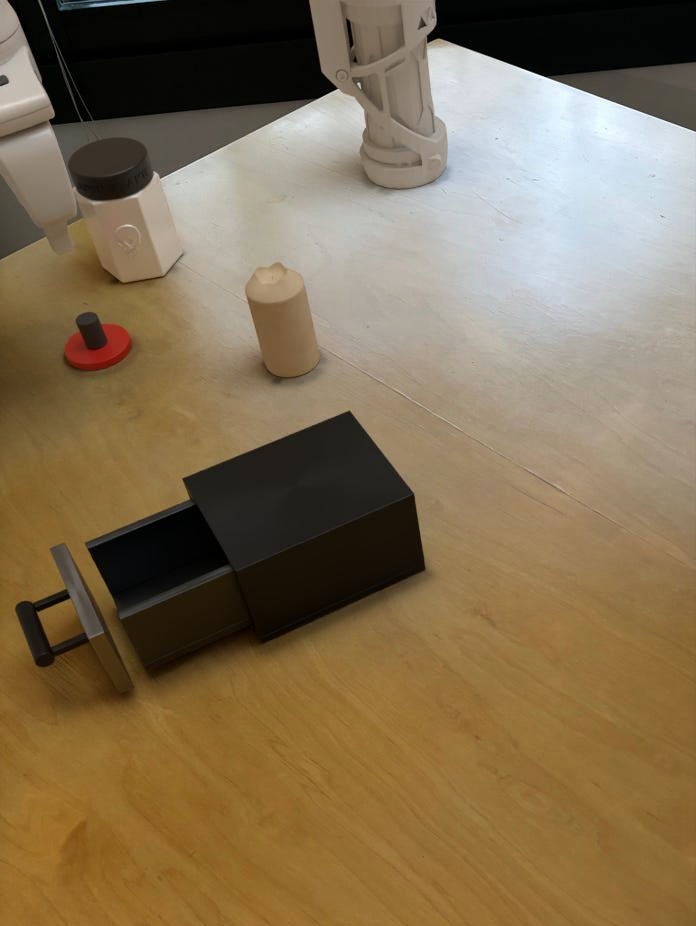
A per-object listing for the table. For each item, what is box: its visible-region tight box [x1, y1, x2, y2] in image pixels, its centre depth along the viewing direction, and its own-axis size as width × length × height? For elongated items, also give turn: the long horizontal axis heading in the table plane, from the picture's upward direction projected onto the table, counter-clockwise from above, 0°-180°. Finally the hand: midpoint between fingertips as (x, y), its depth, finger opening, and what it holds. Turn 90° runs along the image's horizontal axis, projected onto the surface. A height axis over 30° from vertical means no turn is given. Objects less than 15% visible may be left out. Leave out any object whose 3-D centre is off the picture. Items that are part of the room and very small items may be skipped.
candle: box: [244, 261, 321, 378], centre depth 102 cm, size 6×6×10 cm
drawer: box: [14, 498, 253, 695], centre depth 82 cm, size 18×10×7 cm, turn 119°
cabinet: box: [181, 410, 426, 644], centre depth 86 cm, size 15×12×9 cm
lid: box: [63, 311, 133, 371], centre depth 108 cm, size 7×7×4 cm
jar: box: [67, 136, 184, 284], centre depth 114 cm, size 9×8×12 cm
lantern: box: [308, 0, 449, 190], centre depth 118 cm, size 13×10×25 cm
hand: (47, 226), depth 99 cm, fingers open, 8 cm apart
